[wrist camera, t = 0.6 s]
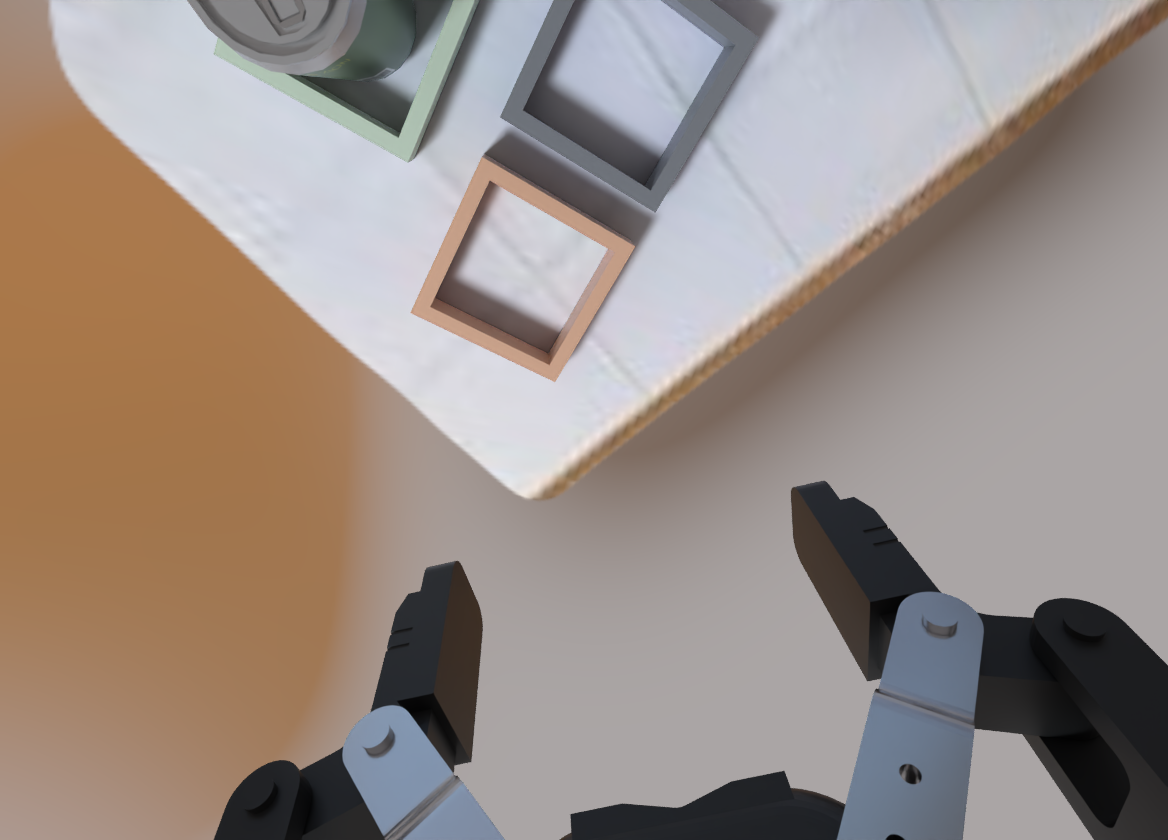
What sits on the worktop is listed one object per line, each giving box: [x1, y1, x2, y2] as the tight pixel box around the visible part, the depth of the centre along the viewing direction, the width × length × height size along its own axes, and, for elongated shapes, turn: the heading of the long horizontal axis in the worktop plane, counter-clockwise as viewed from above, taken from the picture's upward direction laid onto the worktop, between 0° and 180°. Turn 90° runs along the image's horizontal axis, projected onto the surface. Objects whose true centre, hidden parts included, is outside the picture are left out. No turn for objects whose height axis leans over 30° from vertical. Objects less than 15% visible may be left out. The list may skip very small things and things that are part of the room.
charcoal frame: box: [500, 0, 759, 212], centre depth 29 cm, size 9×9×2 cm
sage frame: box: [214, 0, 479, 162], centre depth 27 cm, size 9×9×2 cm
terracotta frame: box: [411, 154, 635, 382], centre depth 33 cm, size 9×9×2 cm
